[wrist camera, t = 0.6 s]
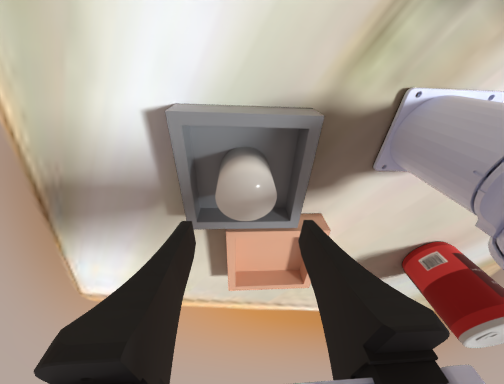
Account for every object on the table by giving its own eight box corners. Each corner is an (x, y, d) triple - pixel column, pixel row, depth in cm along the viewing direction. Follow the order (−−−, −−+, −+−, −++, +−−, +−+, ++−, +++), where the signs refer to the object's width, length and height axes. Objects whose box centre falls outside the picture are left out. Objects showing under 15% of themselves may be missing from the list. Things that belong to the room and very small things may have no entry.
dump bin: (321, 213, 25) (330, 230, 22) (303, 269, 31) (308, 287, 29) (227, 214, 24) (225, 232, 21) (229, 272, 30) (228, 290, 28)
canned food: (391, 271, 33) (449, 350, 24) (417, 239, 29) (499, 321, 20) (431, 271, 34) (502, 347, 25) (462, 240, 30) (562, 318, 21)
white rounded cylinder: (271, 147, 19) (280, 171, 14) (266, 190, 21) (273, 220, 17) (218, 146, 18) (213, 170, 14) (221, 190, 21) (217, 221, 17)
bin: (312, 108, 17) (324, 115, 15) (291, 210, 24) (297, 227, 22) (175, 103, 16) (165, 110, 14) (193, 211, 23) (188, 229, 21)
